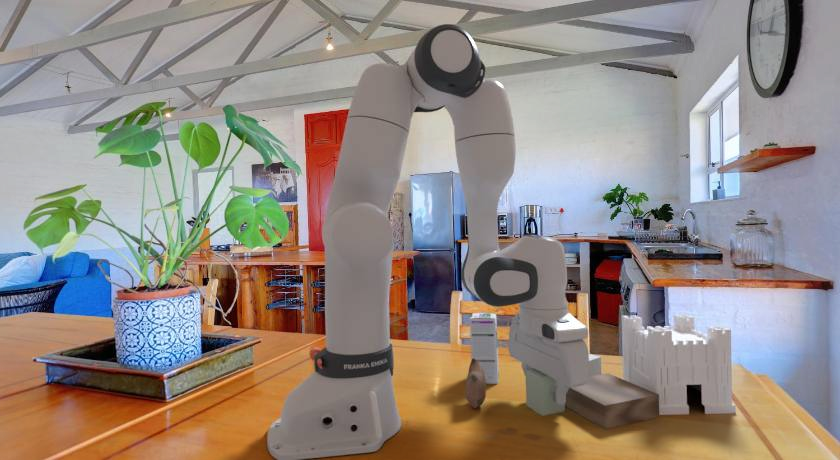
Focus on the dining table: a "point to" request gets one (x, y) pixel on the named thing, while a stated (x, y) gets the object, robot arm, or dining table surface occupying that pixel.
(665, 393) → the castle model
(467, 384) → the brown tapered rounded piece
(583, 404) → the walnut block
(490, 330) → the syrup box
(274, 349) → the dining table surface
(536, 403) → the green block
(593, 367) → the grey block
